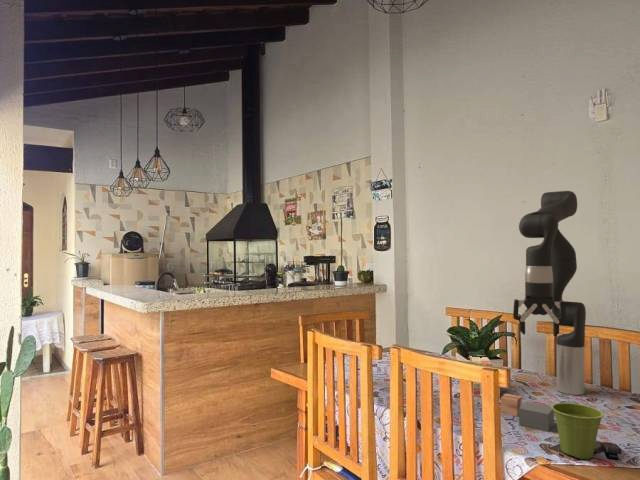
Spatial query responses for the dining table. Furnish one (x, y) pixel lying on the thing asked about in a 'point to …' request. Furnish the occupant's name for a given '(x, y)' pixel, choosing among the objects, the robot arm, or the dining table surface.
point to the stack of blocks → (484, 361)
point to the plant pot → (577, 428)
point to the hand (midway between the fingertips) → (539, 334)
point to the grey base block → (536, 416)
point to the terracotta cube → (510, 404)
